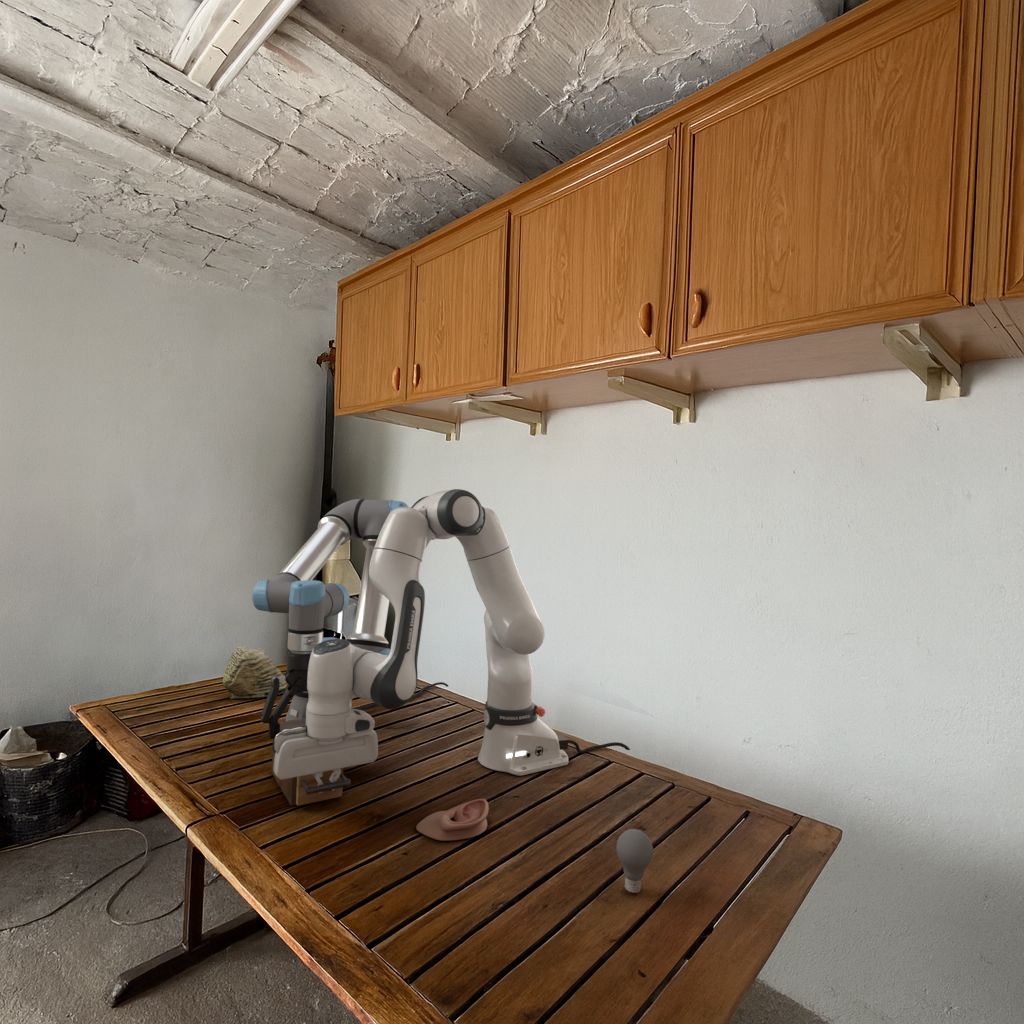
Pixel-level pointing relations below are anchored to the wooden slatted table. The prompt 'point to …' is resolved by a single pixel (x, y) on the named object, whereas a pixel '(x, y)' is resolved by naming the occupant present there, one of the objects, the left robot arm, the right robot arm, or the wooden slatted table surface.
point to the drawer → (319, 788)
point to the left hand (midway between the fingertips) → (301, 747)
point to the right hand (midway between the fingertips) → (326, 790)
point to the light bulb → (634, 857)
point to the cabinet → (289, 784)
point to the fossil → (250, 673)
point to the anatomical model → (456, 821)
